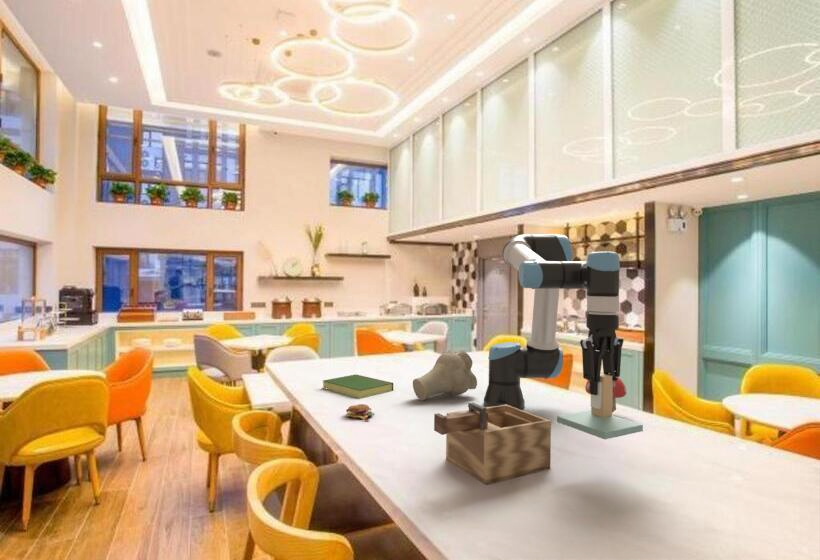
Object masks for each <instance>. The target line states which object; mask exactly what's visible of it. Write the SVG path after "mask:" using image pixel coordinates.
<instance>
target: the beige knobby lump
mask: <svg viewBox="0 0 820 560" xmlns="http://www.w3.org/2000/svg"><path fill="white" fill-rule="evenodd" d="M472 368H473V360H472V358H471V355H469V354H468V353H467V352H466V351H465V350H461V351H459V352H457V353H456V351H455V350H453V349H450V350H449V349H448V351H447V352H445V353H442V354H441V355H439V356H438V358H437V359H436V361H435V363H434V365H433V367H432V369H430V371H428V372H427V373H426V374H424V375H422V376H420V377H417V378H414V379H413V380H412V387H413V392H414V394H415V396H416V397H417V399H418V400H420V401H425V400H426V399H429V398H430V397H433V396H435V395H438V394H439V395H440V394H449V395H453V396H455V395H462V394H465V393H467V391H469V390H475V389H476V388H477V386H478V380H477V377H476V375H475V374H474V373H473V372H472Z"/></svg>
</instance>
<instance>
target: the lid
mask: <svg viewBox="0 0 820 560" xmlns="http://www.w3.org/2000/svg"><path fill="white" fill-rule="evenodd" d="M599 382H602V409H598V408H594V407H591V406H590V409H591V410H585V411H580V412H579V411H578V412H574V413H568V414H563V415H557V417H556V423H559V424H561V425H564V426H567V427H570V428H571V429H574V430H577V431H581V432H583V433H586V434H588V435H591V436H594V437H597V438H599V439H603V440H609V439H613V438H618V437H622V436H626V435H631V434H635V433H640V432H643V431H644V427H643V426H644V425H643V424H641V423H638V422H634V421H632V420H628V419H625V418H621V417H619V416H616V415H613V413H612V376H611V375H607V374H602V373H600V380H599Z"/></svg>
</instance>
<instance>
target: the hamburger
mask: <svg viewBox="0 0 820 560" xmlns="http://www.w3.org/2000/svg"><path fill="white" fill-rule="evenodd" d="M345 411H346V414H345V418H347V417H350V418H352V419H361V420H363V421H364V422H365V423H369V422H370V419H368V417H372V416H374V415H375V413H374V412H373V409H372V408H371V407H370V406H369V405H367V404H364V403H360V404H355V405H354V404H353V405H351V406H349V407H348V408H347V409H346V410H345ZM363 421H361V422H363ZM364 422H363V423H364Z"/></svg>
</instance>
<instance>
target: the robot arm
mask: <svg viewBox="0 0 820 560" xmlns="http://www.w3.org/2000/svg"><path fill="white" fill-rule="evenodd" d="M573 252H574V251H573V247H572V243H571V241H570V239H569V238H568V236H566V235H564V234H555V233H552V234H551V233H549V234H548V233H547V234H546V233H545V234H541V233H540V234H539V233H537V234H535V233H534V234H529V233H527V234H526V233H525V234H523V233H522V234H519V235H518V234H517V235H516V236H513V237H511V238H509V239H508V240H507V241H506V242H505V244H503V247H502V250H501V256H502V259H503V261H504V263H505V264H506V265H508V266H509V267H511V268H513V269H516V270H517V271H518V281H519V285H520V287H521V288H524V289H531V290H534V295H533V296H534V297H533V310H532V322H531V336H530V338H528V339H527V341H526V345H525V346H522V345H521V343H519V342H509V341H508V342H502V343H501V342H500V343H496V344H493V345H491V346H490V348H489V351H488V385H487V387H486V391H485V393H484V397H483V406H484V407H492V406H499V405H506V404H507V405H509V406H512V407H515V408H518V409H520V410H523V409H525V398H524V395H523V392H522V389H521V379H544V380H548V379H556V378H557V377H558V376H560V374H561V373H562V371H563V367H564V362H565V361H564V352H563V351H564V350H563V349H562V348H561V347H560V344H559V342H557V340H556V331H557V320H558V311H559V299H560V298H559V297H560V290H563V289H564V290H586V312H587V314H586V323H585V324H586V328H588V330H589V333H588V335H587V338H586V339H581V340H580V341H579V344H580V347H581V351H582V358H581V359H582V374H583V379H584V380H586V381H588V380H589V381H590V394H589V395H590V408H591V407H594V408H598V409H602V382H599V380H600V372H604V374H607V375H611V376H612V395H613V381H617V380H618V378H616V377H619V378H620V376H621V362H622V348H623V344H624V338H620V337H618V336H617V334H616V330H619V328H620V327H619V325H620V323H619V322H620V321H619V319H620V316H619V315H618V313H619V312H620V269H621V266H620V256H619V254H618V253H617V252H616V251H615V252H614V251H592V252H591V251H590V252H589V253H588V254H587V257H586V261H573V260H574V254H573Z"/></svg>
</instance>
